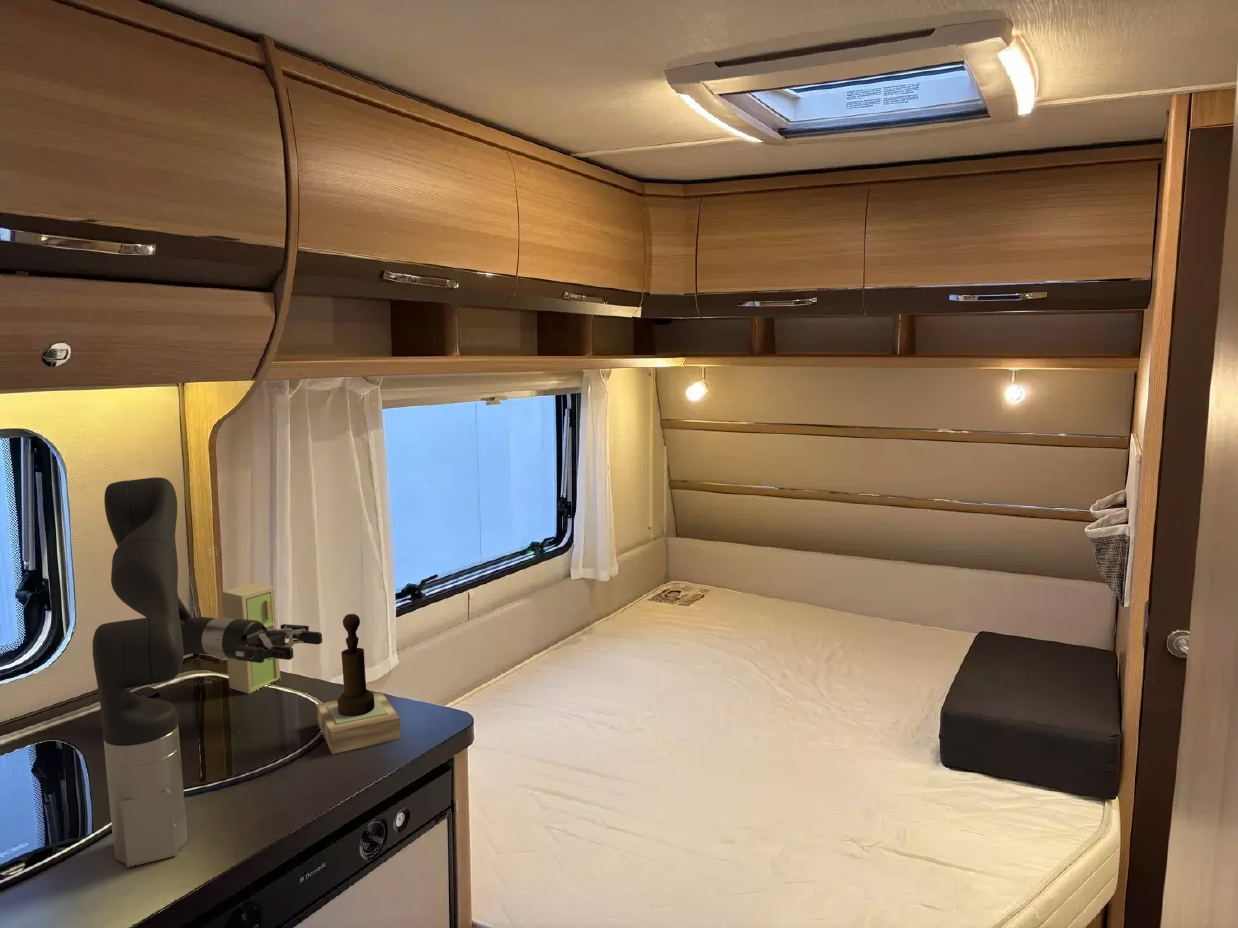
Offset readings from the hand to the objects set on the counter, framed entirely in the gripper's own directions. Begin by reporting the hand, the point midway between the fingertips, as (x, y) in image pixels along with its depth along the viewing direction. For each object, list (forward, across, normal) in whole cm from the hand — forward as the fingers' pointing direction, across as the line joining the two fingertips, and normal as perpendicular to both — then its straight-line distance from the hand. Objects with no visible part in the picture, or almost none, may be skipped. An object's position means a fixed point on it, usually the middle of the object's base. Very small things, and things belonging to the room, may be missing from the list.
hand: (306, 645), depth 163 cm
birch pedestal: (+10, 0, +16) cm, 18 cm away
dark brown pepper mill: (+10, 0, +11) cm, 15 cm away
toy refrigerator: (-24, +14, +16) cm, 32 cm away
